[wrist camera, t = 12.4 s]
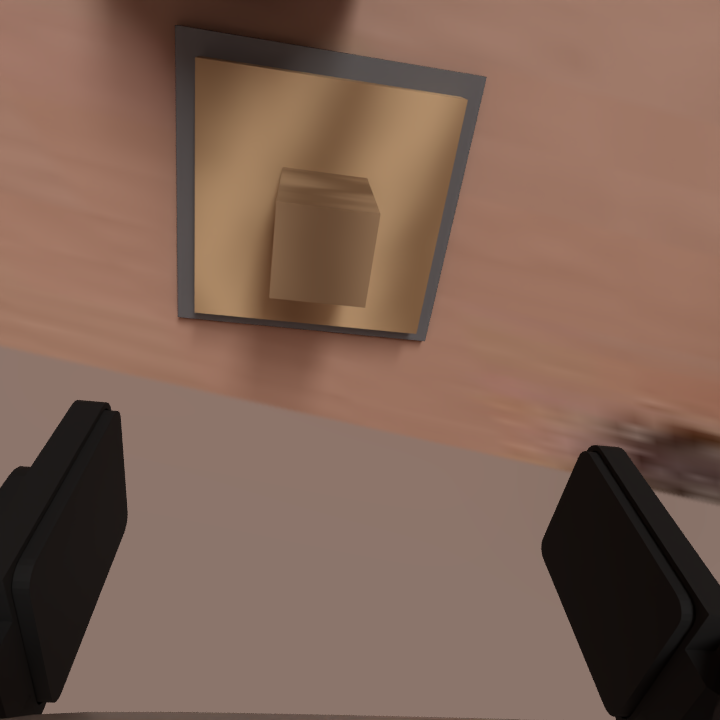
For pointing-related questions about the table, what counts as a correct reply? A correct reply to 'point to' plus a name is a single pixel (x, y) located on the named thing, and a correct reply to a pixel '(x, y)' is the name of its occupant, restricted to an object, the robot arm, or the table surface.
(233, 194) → the oak lid
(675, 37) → the table surface
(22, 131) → the table surface
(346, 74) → the charcoal mat
